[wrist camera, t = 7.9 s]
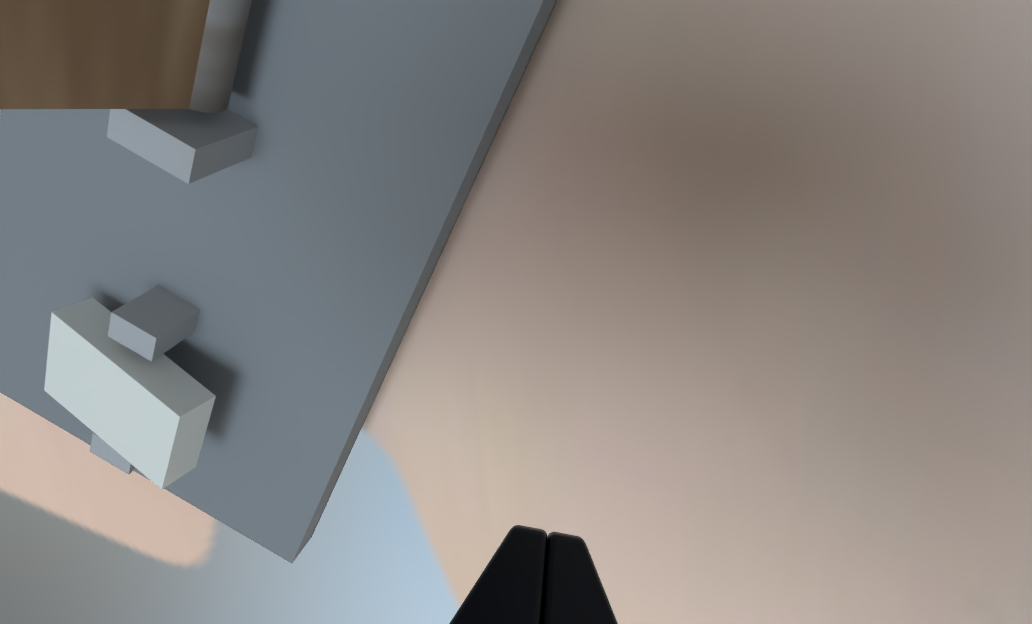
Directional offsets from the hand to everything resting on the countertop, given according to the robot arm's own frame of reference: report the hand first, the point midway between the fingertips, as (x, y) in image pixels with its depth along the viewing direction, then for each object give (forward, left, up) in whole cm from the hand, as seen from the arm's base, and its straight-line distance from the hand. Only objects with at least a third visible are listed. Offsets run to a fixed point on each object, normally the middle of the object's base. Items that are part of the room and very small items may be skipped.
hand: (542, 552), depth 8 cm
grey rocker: (+1, +18, -9) cm, 20 cm away
